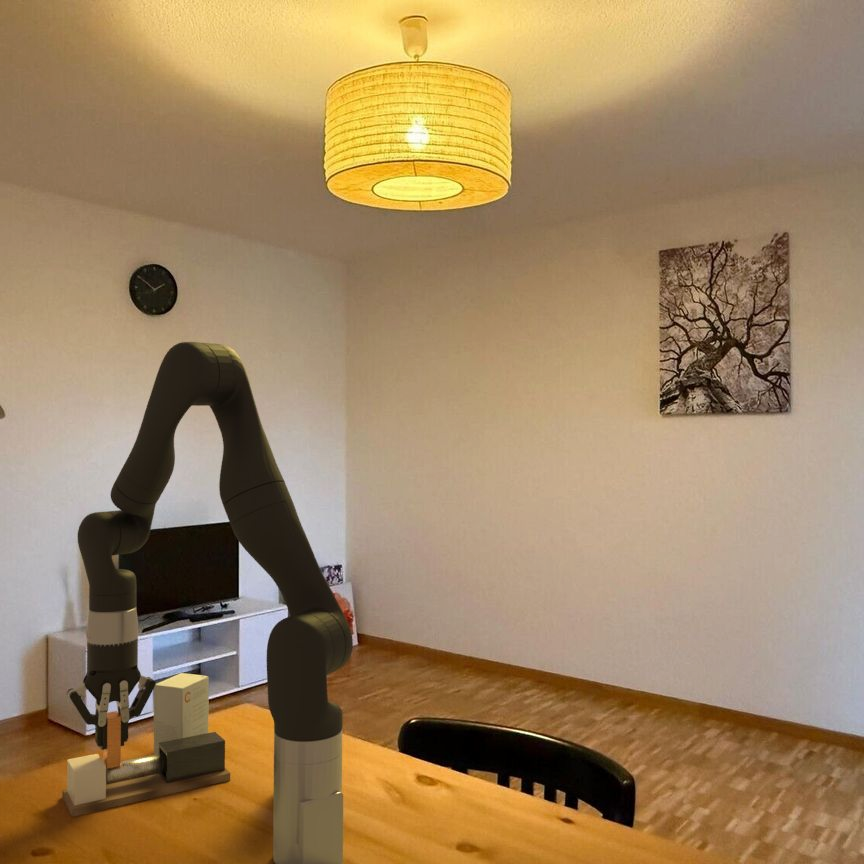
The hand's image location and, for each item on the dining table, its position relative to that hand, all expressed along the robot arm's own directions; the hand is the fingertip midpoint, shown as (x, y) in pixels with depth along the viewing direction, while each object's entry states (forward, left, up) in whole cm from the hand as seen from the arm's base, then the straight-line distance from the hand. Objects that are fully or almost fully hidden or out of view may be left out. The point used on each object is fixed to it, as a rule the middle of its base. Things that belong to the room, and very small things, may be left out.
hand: (111, 745), depth 131 cm
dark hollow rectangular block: (0, -13, -7) cm, 15 cm away
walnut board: (0, -6, -8) cm, 10 cm away
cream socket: (0, +4, -7) cm, 8 cm away
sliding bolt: (0, -3, -6) cm, 7 cm away
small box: (+13, -15, -8) cm, 22 cm away
